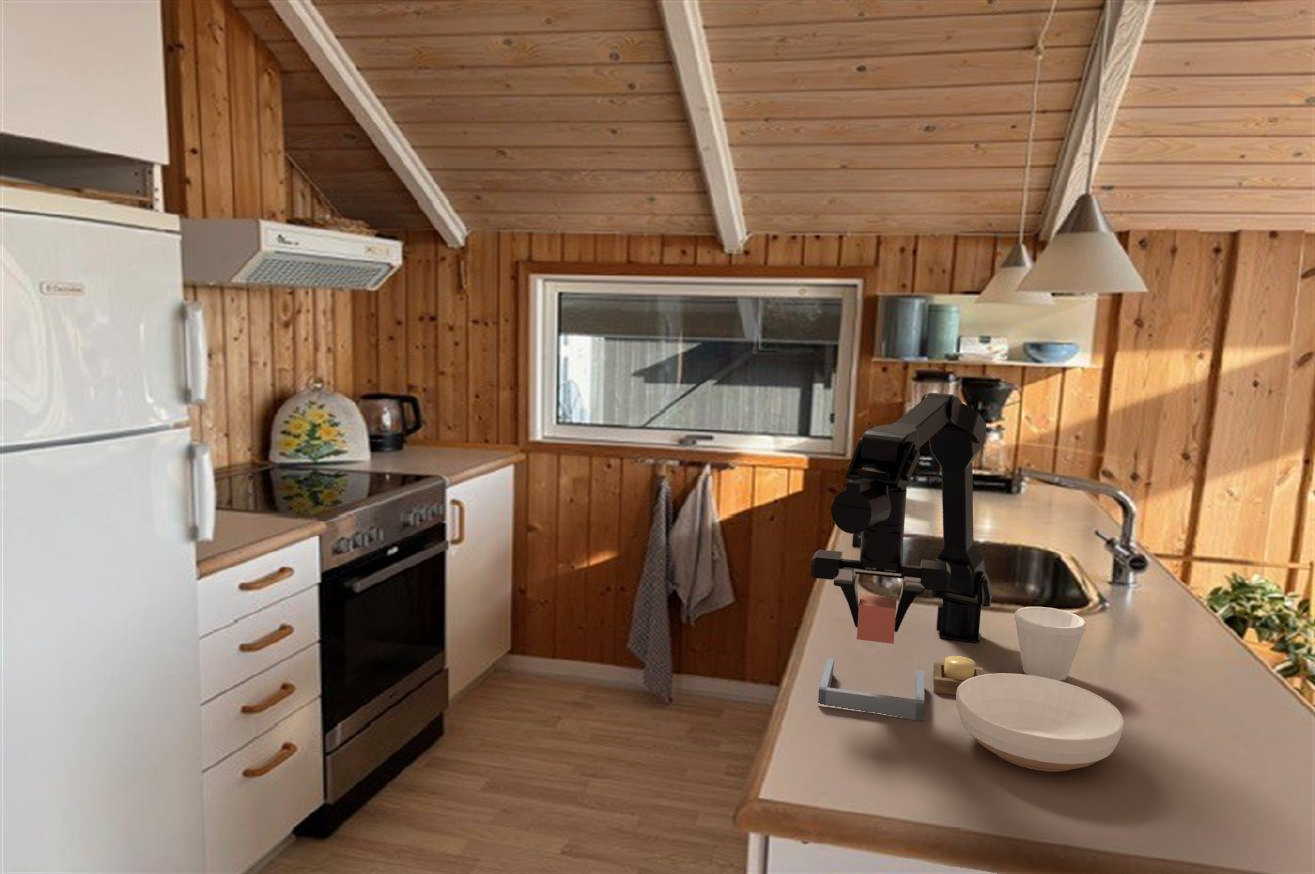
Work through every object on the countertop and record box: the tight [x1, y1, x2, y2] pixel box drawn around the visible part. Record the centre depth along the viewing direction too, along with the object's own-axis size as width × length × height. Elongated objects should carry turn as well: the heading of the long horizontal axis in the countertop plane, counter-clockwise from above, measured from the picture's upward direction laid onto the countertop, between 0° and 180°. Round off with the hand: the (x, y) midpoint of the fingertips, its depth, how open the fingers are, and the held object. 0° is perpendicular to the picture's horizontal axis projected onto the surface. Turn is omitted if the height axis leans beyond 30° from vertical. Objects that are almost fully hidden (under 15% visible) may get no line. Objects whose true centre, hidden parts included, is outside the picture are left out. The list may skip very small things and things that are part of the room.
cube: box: [856, 594, 898, 645], centre depth 130 cm, size 5×5×5 cm
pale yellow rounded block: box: [944, 655, 976, 680], centre depth 135 cm, size 4×4×3 cm
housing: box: [932, 661, 985, 696], centre depth 136 cm, size 7×7×2 cm
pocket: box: [817, 657, 925, 722], centre depth 131 cm, size 14×12×2 cm
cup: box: [1014, 606, 1087, 682], centre depth 140 cm, size 10×10×9 cm
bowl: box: [955, 672, 1125, 773], centre depth 116 cm, size 20×20×6 cm
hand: (876, 628), depth 130 cm, fingers closed on cube, 5 cm apart
